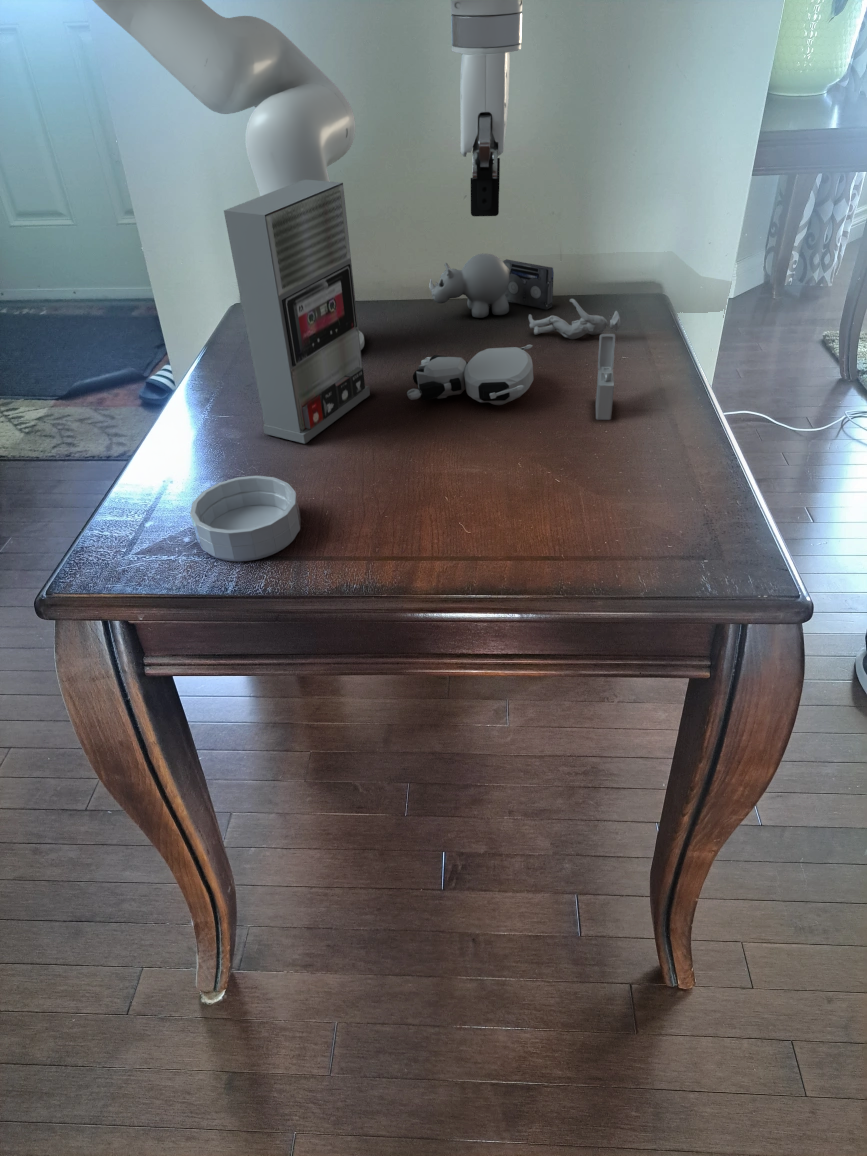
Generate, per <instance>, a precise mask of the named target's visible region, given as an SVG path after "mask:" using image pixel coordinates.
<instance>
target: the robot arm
mask: <svg viewBox="0 0 867 1156" xmlns="http://www.w3.org/2000/svg"><path fill="white" fill-rule="evenodd" d="M92 1H93V3H94V4H95V5H97V7H98V8H100V9H101V10H102V11H103V12H104V13H105V14H106V15H107V16H108V17H109V18H110V19H111V20H113V21H114V22H115V23H116V24H117V25H118V26H120V27H121V28H122V29H123V30H124V31H125V32H126V33H128V34H129V35H130V37H132V38H133V39H134V40H135V41H136V42H138V44H140V45H141V46H142V47H143V48H144V49H145V50H146V51H147V52H148V53H149V55H150V56H151V57H152V58H154V60H155V61H157V62H158V63H159V64H160V66H162V67H163V68H164V69H165V70H166V71H167V72H169V74H170V75H171V76H173V77H174V78H175V79H176V80H177V81H178V82H179V83H180V84H181V85H182V86H183V87H184V88H185V89H186V90H188V92H190V93H191V94H192V96H194V97H195V98H196V99H197V100H198V101H199V102H200V103H202V104H203V105H204V106H205V107H206V108H207V109H209V110H210V111H212V112H214V113H217V114H221V115H231V114H236V113H240V112H242V111H245V110H248V109H250V108H253V107H254V110H253V111H252V112H251V114H250V116H249V119H248V120H247V124H246V128H245V136H244V137H245V138H244V139H245V140H244V141H245V148H246V149H245V150H246V155H247V158H248V162H249V165H250V166H249V167H250V168H251V171H252V174H253V177H254V181H255V183H256V186H257V190H258V194H259V197H260V196H263V195H265V194H268V193H270V192H273V191H276V190H278V189H281V188H283V187H286V186H289V185H291V184H294V183H296V182H299V181H301V180H304V179H305V180H317V181H329V182H331V180H330V177H329V172H328V167H329V166H331V165H332V164H334V163H336V162H337V161H339V160H340V159H341V158H342V157H344V156H345V155H346V154H347V153H348V151H349V150H350V149H351V147H352V145H353V143H354V140H355V137H356V119H355V114H354V112H353V109H352V106H351V104H350V102H349V101H348V99H347V97H346V96H345V95H344V93H343V92H342V90H341V89H340V88H339V87H338V86H337V84H335V83H334V82H333V80H331V79H330V77H328V76H327V75H326V74H325V73H324V72H323V71H322V70H321V69H320V68H319V67H318V66H317V65H316V64H315V63H314V62H313V61H312V60H311V59H310V58H309V57H308V56H307V55H306V54H305V53H304V52H303V51H302V50H301V49H300V48H299V47H298V46H297V45H296V44H295V43H294V42H293V41H292V40H291V39H289V37H287V36H286V34H285V33H283V32H282V31H281V30H280V29H279V28H278V27H276V26H274V25H273V24H272V23H270V22H269V21H267V20H264V19H263V18H260V17H256V16H253V15H237V16H232V17H225V16H222V15H220V14H219V13H217V12H216V11H215V10H214V9H212V8H211V7H210V6H209V5H208V4H207V3H205V2H204V1H203V0H92ZM523 2H524V1H523V0H450V14H451V15H450V17H451V18H450V23H451V24H450V25H451V26H450V31H451V32H450V33H451V52H452V53H456V54H461V58H460V75H459V76H460V80H459V89H460V90H459V95H460V96H459V97H460V98H459V99H460V100H459V101H460V102H459V105H460V107H459V109H460V110H459V111H460V116H459V117H460V119H459V120H460V154H461V156H463V157H464V158H465V157H467V154H468V153H472V177H470V215H471V217H497V216H498V215H499V213H500V179H501V178H500V177H501V176H500V175H501V174H500V173H501V170H500V169H501V158H500V157H499V156H501V155H502V154H504V148H505V142H506V135H507V126H508V113H509V100H510V99H509V97H510V71H511V70H510V69H511V67H510V65H511V53H513V52H517V51H520V50H522V38H523V37H522V35H523V33H522V31H523ZM359 339H360V349H361V351H362V350H363V349H364V347H365V335H364V333H363V332H362V331H361V330H359Z"/></svg>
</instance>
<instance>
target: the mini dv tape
mask: <svg viewBox="0 0 867 1156" xmlns="http://www.w3.org/2000/svg"><path fill="white" fill-rule="evenodd" d="M502 261H503V262H504V264H505V265H506V266H507V267H508V269H509V271H510V273H509V284H508V288H507V290H506V292H505V296H506V298H507V301H508V303H513V304H517V305H522V306H526V307H530V308H536V309H541V310H545V311H546V310H548V309H551V308H552V307H553V302H554V301H553V300H554V299H553V298H554V274H555V273H554V272H555V271H554V267H553V266H545V265H540V264H534V263H528V262H524V261H519V260H513V259H507V258H506V259H504V260H502Z"/></svg>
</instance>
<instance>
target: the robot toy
mask: <svg viewBox="0 0 867 1156" xmlns="http://www.w3.org/2000/svg"><path fill="white" fill-rule="evenodd" d="M533 346H534V345H533V344H527V345H525V346H522V347H517V346H515V347H514V346H511V347H493V348H492V347H491V348H490V347H489V348H486V349H484V350H481V351H479V352H477V353H476V354H475V355H474V356H473V357H472V358H471V359H470V360H469V361H466V360H465V359H464V358H463V357H457V356H445V355H439V354H434V355H432V356H427V357H425V358H424V359H421V361H420V364H419V365H418V366H417V368H418V369H415V371H414V372H413V374H412V381H413V382H414V384H415V385H417V387H418V388H411V389H409V390H407V392H406V397H408V399H409V400H412V401H413V400H418V399H421V400H422V401H428V400H433V399H446V398H448V397H449V396H457V395H461V394H463V392H465V391H466V394H467V396H469V397H470V398H471V399H473V400H475V401H476V402H479V403H490V404H491V405H494V406H502V405H506V404H508V403H509V402H511V401H514V400H517V399H519V398H520V397H521V396H522V395H524V394H525V393H526V392H527V391H528V390H529V389H530V387H531V385H532V383H533V381H534V379H535V378H534V365H533V359H532V356H531V355H530V354H529V353H528V352H527V351H526V350H529V349H532V347H533Z"/></svg>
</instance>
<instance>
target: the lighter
mask: <svg viewBox="0 0 867 1156" xmlns="http://www.w3.org/2000/svg"><path fill="white" fill-rule="evenodd" d="M598 339H599V341H598V355H597V357H598V358H597V370H598V371H597V380H596V392H595V419H596V420H597V421H599V420H600V421H602V420H603V421H610V420H612V412H613V403H614V402H613V400H614V392H615V391H614V390H615V378H614V362H615V361H614V360H615V345H616V334H615V333H600V334H599V338H598Z"/></svg>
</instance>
